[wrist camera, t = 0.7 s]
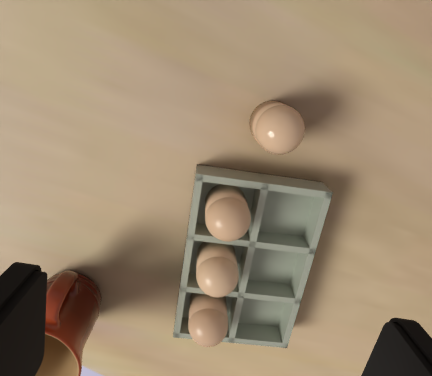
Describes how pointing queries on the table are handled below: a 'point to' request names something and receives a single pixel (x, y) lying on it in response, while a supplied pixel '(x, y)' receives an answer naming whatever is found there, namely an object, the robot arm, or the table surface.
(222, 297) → the carton
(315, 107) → the table surface
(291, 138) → the egg
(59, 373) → the mug
